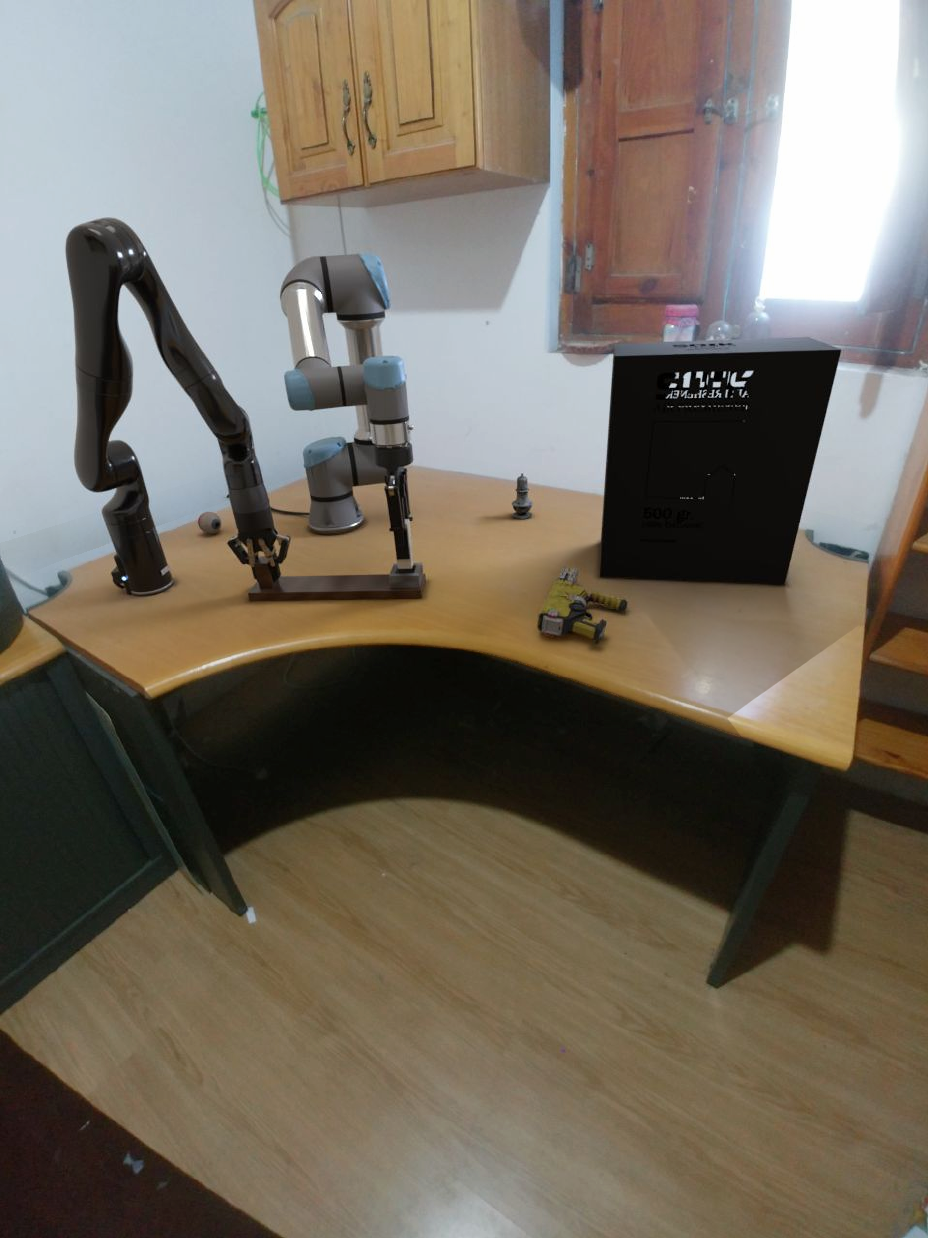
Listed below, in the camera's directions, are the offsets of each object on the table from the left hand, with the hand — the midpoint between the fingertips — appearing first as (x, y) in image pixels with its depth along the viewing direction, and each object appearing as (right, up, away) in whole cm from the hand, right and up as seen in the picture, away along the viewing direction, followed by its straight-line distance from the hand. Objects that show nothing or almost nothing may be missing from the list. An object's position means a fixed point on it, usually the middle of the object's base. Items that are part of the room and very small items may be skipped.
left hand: (268, 579), depth 133 cm
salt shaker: (+60, +20, +35) cm, 72 cm away
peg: (+31, +3, -4) cm, 31 cm away
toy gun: (+68, -8, -14) cm, 69 cm away
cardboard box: (+94, +4, +4) cm, 94 cm away
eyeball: (-27, +15, +35) cm, 47 cm away
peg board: (+16, -3, 0) cm, 16 cm away
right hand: (+31, +5, -5) cm, 32 cm away
